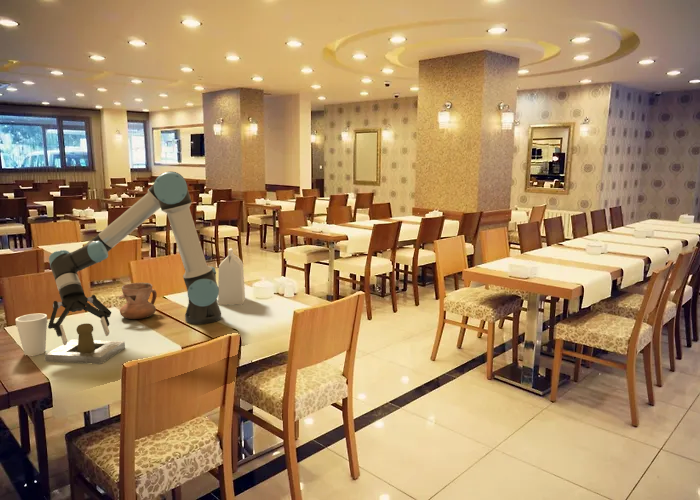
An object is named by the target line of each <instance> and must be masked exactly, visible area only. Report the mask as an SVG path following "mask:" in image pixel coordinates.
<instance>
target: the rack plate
mask: <svg viewBox="0 0 700 500" xmlns="http://www.w3.org/2000/svg"><path fill="white" fill-rule="evenodd" d="M93 340H94V344H95V349H96V350H95V351H93V352H91V353H78V338H77V339H75V338H74V339H70V340H69V341H67V344H66V345H64V344H63V343H62V345H59V346H57V347H56V348H54V349H52V350H50V351H48V352H46V353H45V354H44V362H47V363H48V362H51V363H66V364H67V363H68V364H69V363H73V364H87V363H92V365H102V364H103V362H104V363H105V362H106V361H108V360H109V359H111V358H113V357H114V356H115V355H118V353H120V352H121V351H123V350H124V349H126V341H121V340H99V339H98V340H97V339H93Z"/></svg>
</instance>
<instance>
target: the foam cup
mask: <svg viewBox="0 0 700 500" xmlns="http://www.w3.org/2000/svg"><path fill="white" fill-rule="evenodd" d="M48 323H49V322H48V315H47V314H46V313H38V312H37V313H29V314H24V315H21V316H19V317H16V318H15V327H17V332H18V335H19V339H20V344H21V346H22V350H23V354H24V355H25V356H26V355H28V356H27V357H31V356H32V357H34V356H40V355H42V354H44V353H45V352H46V346H47V330H48V329H47V328H48ZM33 355H34V356H33Z"/></svg>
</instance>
